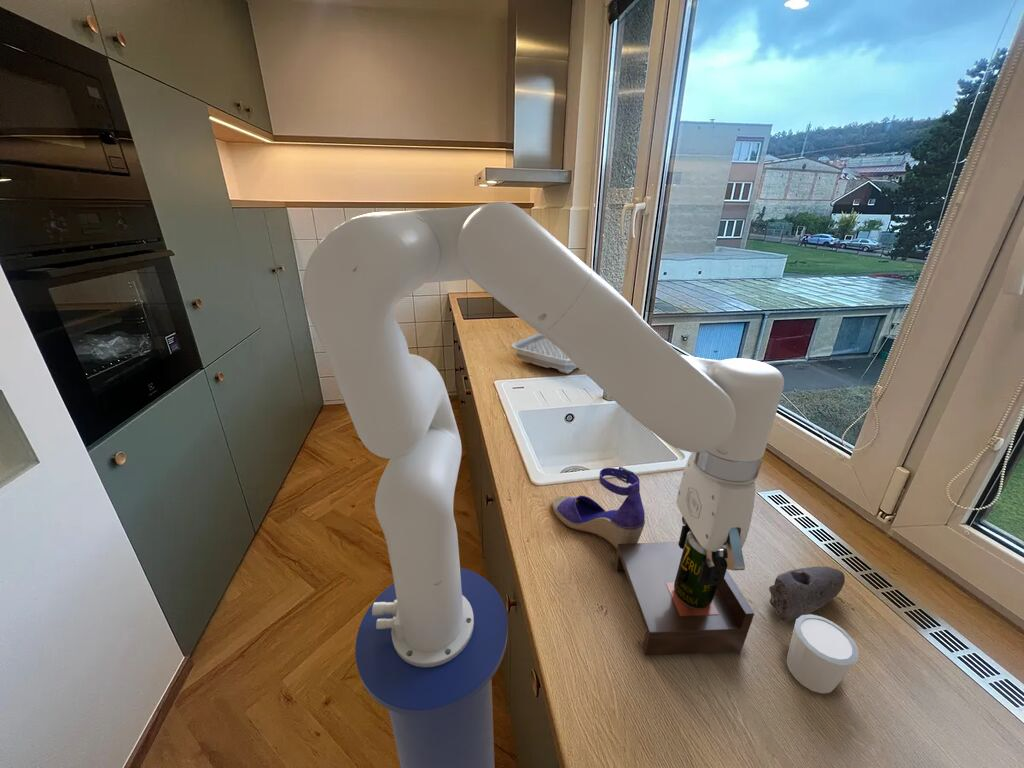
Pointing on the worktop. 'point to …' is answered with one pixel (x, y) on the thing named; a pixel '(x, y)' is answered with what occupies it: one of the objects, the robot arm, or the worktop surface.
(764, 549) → the worktop surface
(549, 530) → the worktop surface
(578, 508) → the sandal
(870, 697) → the worktop surface
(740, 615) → the shelf
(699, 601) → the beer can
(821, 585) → the perforated stone tool
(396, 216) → the robot arm
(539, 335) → the dish rack
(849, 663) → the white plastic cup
